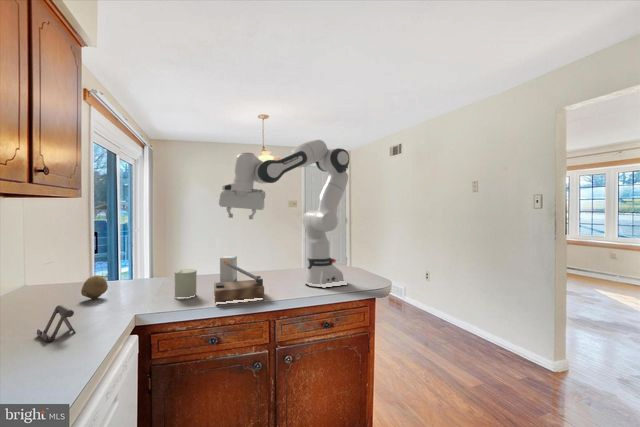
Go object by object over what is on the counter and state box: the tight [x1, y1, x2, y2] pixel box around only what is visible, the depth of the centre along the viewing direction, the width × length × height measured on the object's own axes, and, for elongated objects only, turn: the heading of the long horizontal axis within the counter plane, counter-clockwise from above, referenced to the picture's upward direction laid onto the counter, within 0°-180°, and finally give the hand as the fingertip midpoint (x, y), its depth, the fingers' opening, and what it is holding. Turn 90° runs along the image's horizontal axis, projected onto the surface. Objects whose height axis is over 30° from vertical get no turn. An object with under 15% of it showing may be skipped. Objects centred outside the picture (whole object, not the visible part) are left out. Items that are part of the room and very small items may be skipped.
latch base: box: [213, 275, 265, 304], centre depth 137 cm, size 20×14×8 cm
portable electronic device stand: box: [36, 304, 76, 344], centre depth 97 cm, size 9×8×8 cm
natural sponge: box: [80, 275, 109, 300], centre depth 134 cm, size 9×9×10 cm
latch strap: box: [222, 259, 262, 281], centre depth 137 cm, size 19×4×2 cm
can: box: [174, 268, 198, 297], centre depth 139 cm, size 9×9×12 cm
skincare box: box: [219, 255, 238, 282], centre depth 154 cm, size 8×7×16 cm
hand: (240, 218), depth 141 cm, fingers open, 8 cm apart
